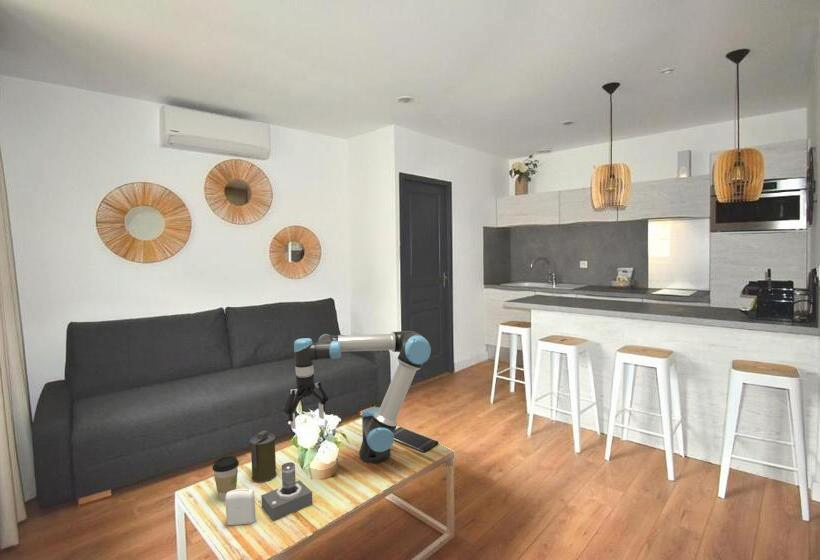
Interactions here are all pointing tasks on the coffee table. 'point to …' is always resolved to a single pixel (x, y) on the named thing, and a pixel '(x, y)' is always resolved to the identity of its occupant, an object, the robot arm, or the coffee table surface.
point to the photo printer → (240, 507)
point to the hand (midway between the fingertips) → (307, 422)
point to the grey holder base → (286, 501)
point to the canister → (263, 457)
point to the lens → (288, 478)
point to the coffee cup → (225, 475)
